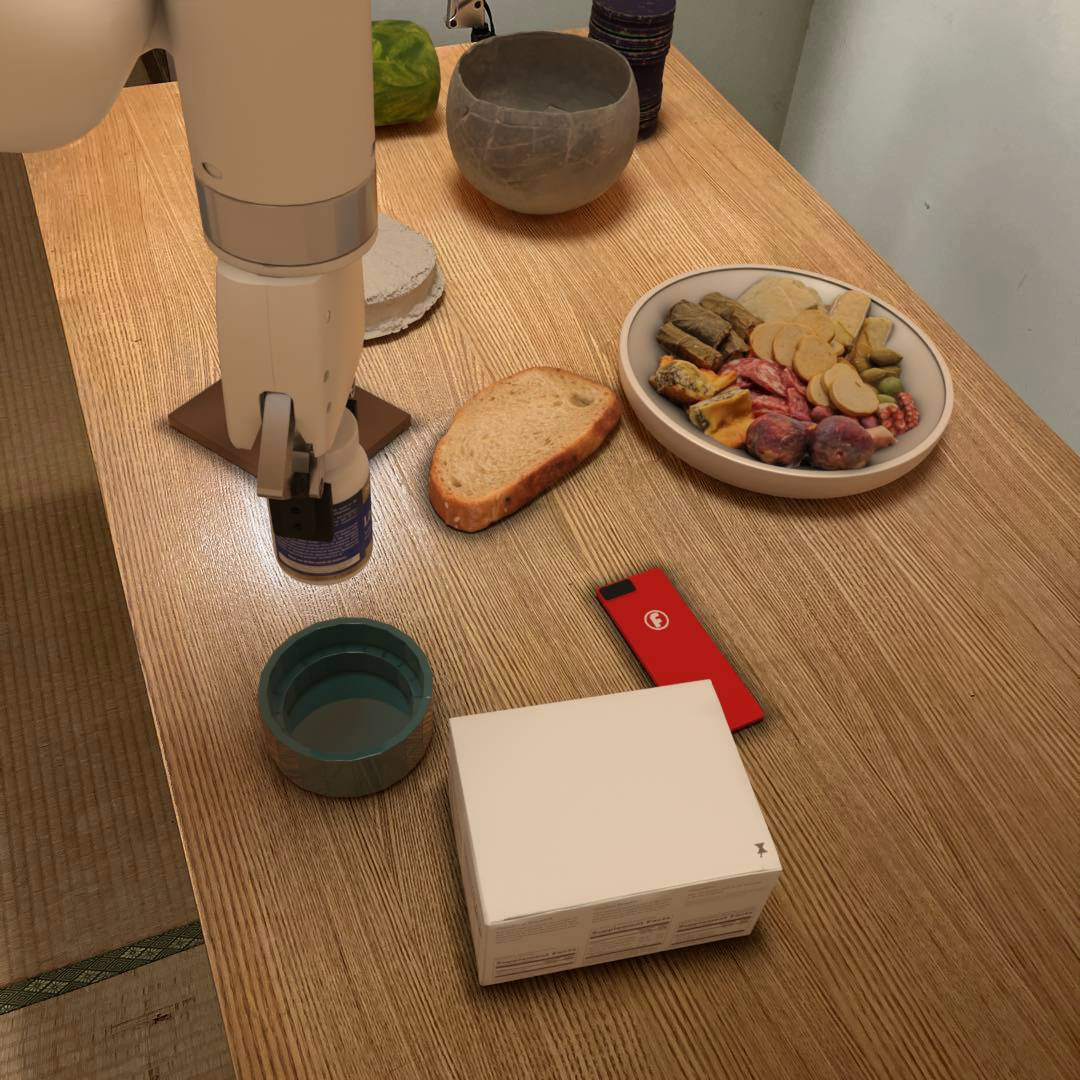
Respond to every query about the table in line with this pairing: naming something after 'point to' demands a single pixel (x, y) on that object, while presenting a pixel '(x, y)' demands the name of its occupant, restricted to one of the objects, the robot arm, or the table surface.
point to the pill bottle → (350, 515)
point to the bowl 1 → (542, 119)
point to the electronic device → (674, 642)
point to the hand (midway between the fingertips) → (318, 490)
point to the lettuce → (403, 73)
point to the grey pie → (398, 278)
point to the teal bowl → (347, 706)
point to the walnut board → (210, 429)
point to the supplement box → (605, 830)
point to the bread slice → (517, 443)
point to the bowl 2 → (783, 380)
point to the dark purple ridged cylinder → (638, 46)
